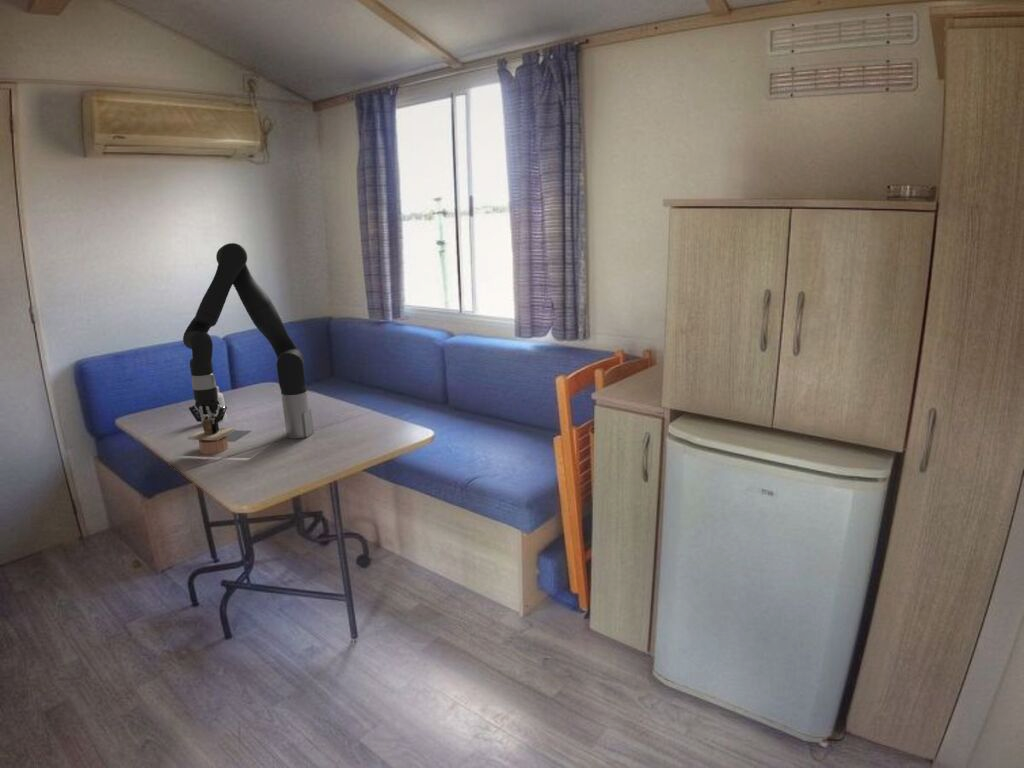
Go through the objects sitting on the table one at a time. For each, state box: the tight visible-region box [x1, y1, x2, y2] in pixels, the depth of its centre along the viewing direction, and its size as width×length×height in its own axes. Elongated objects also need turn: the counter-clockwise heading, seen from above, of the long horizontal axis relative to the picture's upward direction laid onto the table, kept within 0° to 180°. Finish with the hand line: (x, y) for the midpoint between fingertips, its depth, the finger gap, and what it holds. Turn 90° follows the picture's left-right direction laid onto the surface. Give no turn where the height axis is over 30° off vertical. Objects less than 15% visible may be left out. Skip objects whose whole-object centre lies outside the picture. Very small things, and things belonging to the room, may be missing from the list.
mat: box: [227, 429, 252, 443], centre depth 235 cm, size 12×12×1 cm
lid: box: [187, 418, 236, 441], centre depth 219 cm, size 11×11×6 cm
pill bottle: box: [208, 385, 228, 424], centre depth 252 cm, size 8×8×15 cm
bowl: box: [198, 435, 229, 455], centre depth 221 cm, size 9×9×5 cm
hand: (211, 432), depth 220 cm, fingers closed on lid, 2 cm apart
